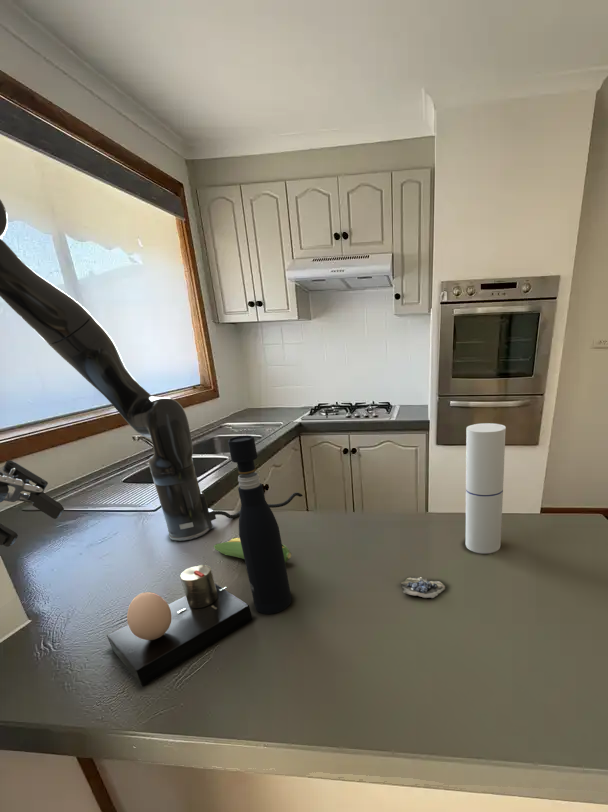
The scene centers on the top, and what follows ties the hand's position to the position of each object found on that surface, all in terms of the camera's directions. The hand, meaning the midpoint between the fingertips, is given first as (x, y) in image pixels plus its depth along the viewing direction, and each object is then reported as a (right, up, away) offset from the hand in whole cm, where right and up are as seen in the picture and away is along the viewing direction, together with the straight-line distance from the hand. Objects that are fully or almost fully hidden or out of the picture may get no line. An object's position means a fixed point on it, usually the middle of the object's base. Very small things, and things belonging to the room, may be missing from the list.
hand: (38, 526), depth 59 cm
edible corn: (+21, -9, +31) cm, 39 cm away
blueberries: (+56, -12, +17) cm, 60 cm away
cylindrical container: (+70, -6, +29) cm, 76 cm away
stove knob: (+18, -13, +13) cm, 26 cm away
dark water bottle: (+29, -15, +16) cm, 36 cm away
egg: (+14, -17, +5) cm, 23 cm away
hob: (+16, -18, +10) cm, 26 cm away
